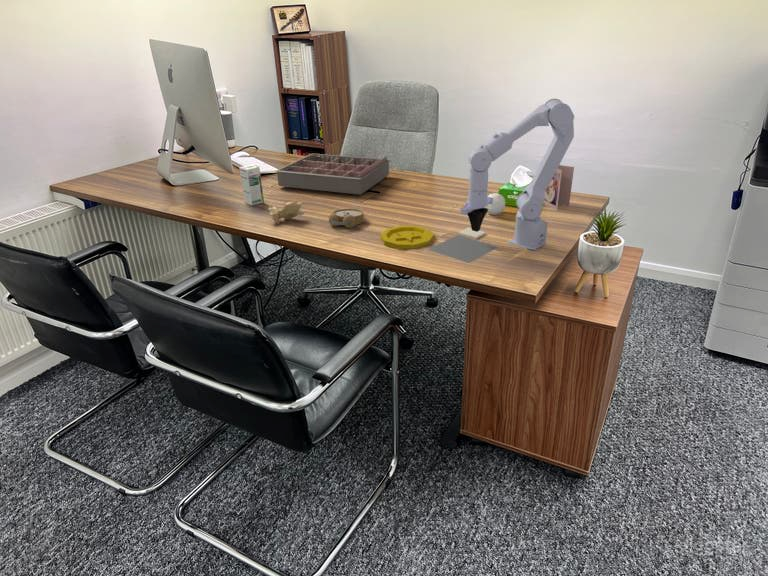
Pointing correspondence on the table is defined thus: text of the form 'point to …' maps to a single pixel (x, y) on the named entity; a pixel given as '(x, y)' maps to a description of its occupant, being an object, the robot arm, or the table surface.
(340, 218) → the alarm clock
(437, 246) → the mat
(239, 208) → the table surface
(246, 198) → the syrup box
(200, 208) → the table surface
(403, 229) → the decorative disc
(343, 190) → the organizer tray
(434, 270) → the table surface
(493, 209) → the geometric ball
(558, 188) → the greeting card
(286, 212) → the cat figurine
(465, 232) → the tile
